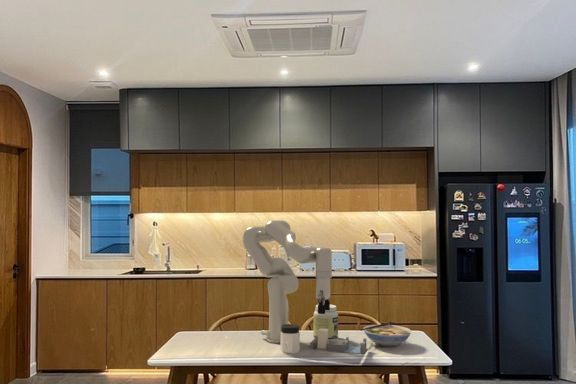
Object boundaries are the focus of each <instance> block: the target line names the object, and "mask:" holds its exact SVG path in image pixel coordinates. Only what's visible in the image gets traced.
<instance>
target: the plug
mask: <svg viewBox="0 0 576 384" xmlns="http://www.w3.org/2000/svg"><path fill="white" fill-rule="evenodd" d="M328 343H329V341H328V329H319V330H318V348H323V349H326V348H327V347H328Z"/></svg>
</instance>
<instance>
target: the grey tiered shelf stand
mask: <svg viewBox="0 0 576 384" xmlns="http://www.w3.org/2000/svg"><path fill="white" fill-rule="evenodd" d="M349 341H350V337H349V336H346V337H345V339H339V338H338V339H332V340H331V341H328V347H327V348H326V349H323V348H318V338H315V339H314V338H313V339H312V340H311V341H310V343H309V344H310V345H309V346H310V347H309V349H310V350H314V351H324V352H325V351H326V352H336V353H347V354H358V355H364V353H365V351H366V350H367V338H365V337H364V338H363V339H362V342H360V346H350V342H349Z"/></svg>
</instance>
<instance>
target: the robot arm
mask: <svg viewBox="0 0 576 384" xmlns="http://www.w3.org/2000/svg"><path fill="white" fill-rule="evenodd" d="M296 239H297V236H296V233H295V232H293V230H291V226H290V224H289V223H288V221H285V220H269V221H268V222H266V223H265V224H264V225H263V226H262V225H261V226H259V225H257V226H251V227H248V228H247V229H245V230H244V232H243V236H242V243H243V246H244V248H245V250H246V251H247V253H248V254H249V256H250V257H251V258H252V261H254V263H255V265H256V267H257V268H258V271H259V273H261V275H262V276H263V277H265V278H270V279H269V280H268V282H267V292H268V303H269V304H268V306H269V307H268V308H269V309H268V313H269V314H268V317H269V318H268V319H269V320H268V330H264V329H263V330H261V332H260V335H262V336H266V337H265V341H266V342H268V343H273V344H280V338H281V326H282V325H284V324H289V300H288V297H287V295H288V294H292V293H295V292H297V290H298V289H299V286H300V284H299V280H298V277H297V276H296V274H295V272H294V271H293V269H292V267H291V266H290V265H289V263H288V261H287V260H285V259H283V258H282V257H272V256H271V254H270V253H269V251H268V250H267V248H266V247H265V246H263V245H262V244H261V243H271V242H274V241H275V242H276V243H278V244H279V245H281V246H282V247H283V250H284V252H285V253H286V254H287V256H288V257H290V258H291V259H292V260H294V261H295V262H296V263H298V264H313V263H314V264H315V279H316V282H315V284H316V285H315V300H316V301H317V305H318V314H325V310H330V305H331V301H330V298H331V279H332V277H333V273H332V269H333V268H332V267H333V265H332V264H333V260H332V259H333V256H332V252H333V251H332V249H331V248H329V247H317V246H305V247H304V246H301V245H300V244H299V243H297V242H296Z"/></svg>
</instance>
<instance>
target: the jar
mask: <svg viewBox="0 0 576 384" xmlns="http://www.w3.org/2000/svg"><path fill="white" fill-rule="evenodd" d="M300 336H301V333H300V326H299V324H295V323H288V324H284V325H282V326H281V338H280V343H279V344H280V346H279V347H280V349H279V350H280V352H281V353H285V354H297V353H299V352H300V349H301V348H300V347H301V345H300V341H301V339H300Z"/></svg>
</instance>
